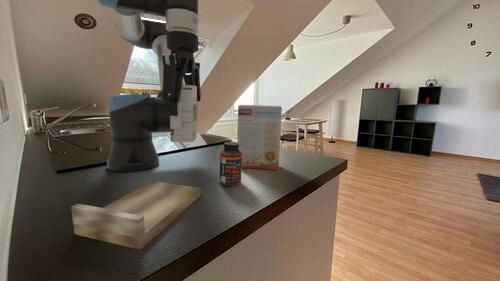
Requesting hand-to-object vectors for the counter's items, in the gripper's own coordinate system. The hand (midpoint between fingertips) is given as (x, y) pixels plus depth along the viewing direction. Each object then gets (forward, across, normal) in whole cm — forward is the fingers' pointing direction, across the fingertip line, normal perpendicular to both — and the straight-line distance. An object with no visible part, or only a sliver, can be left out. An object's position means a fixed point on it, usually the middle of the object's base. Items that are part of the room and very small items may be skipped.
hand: (184, 126), depth 59 cm
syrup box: (+4, 0, 0) cm, 4 cm away
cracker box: (+15, +20, -16) cm, 30 cm away
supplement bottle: (+15, +3, -12) cm, 20 cm away
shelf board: (+15, -17, -2) cm, 23 cm away
